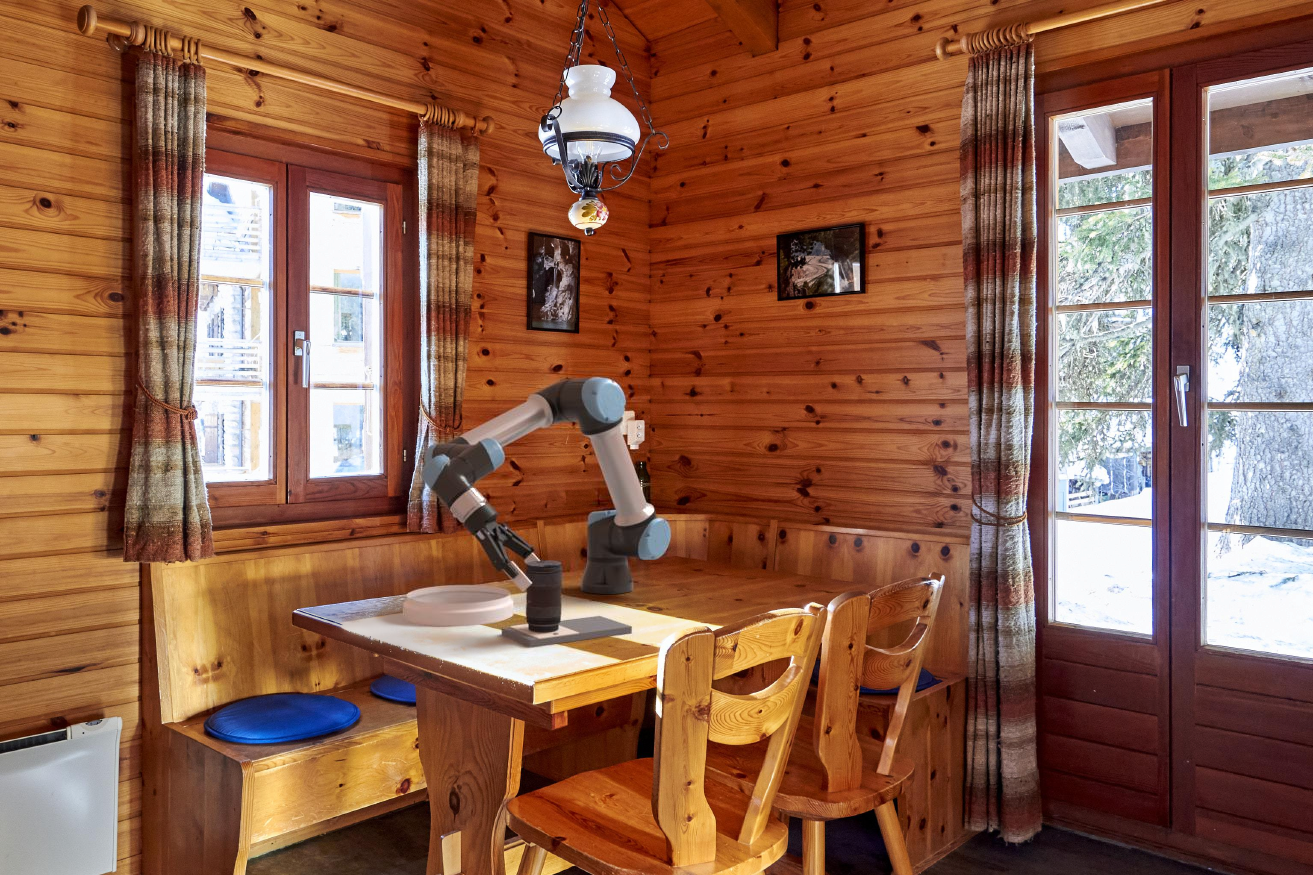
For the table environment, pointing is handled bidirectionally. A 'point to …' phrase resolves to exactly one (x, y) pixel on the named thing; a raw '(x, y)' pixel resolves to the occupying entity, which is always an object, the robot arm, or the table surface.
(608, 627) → the board
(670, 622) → the table surface
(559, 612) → the camera lens
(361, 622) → the table surface
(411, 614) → the white round tray
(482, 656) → the table surface
